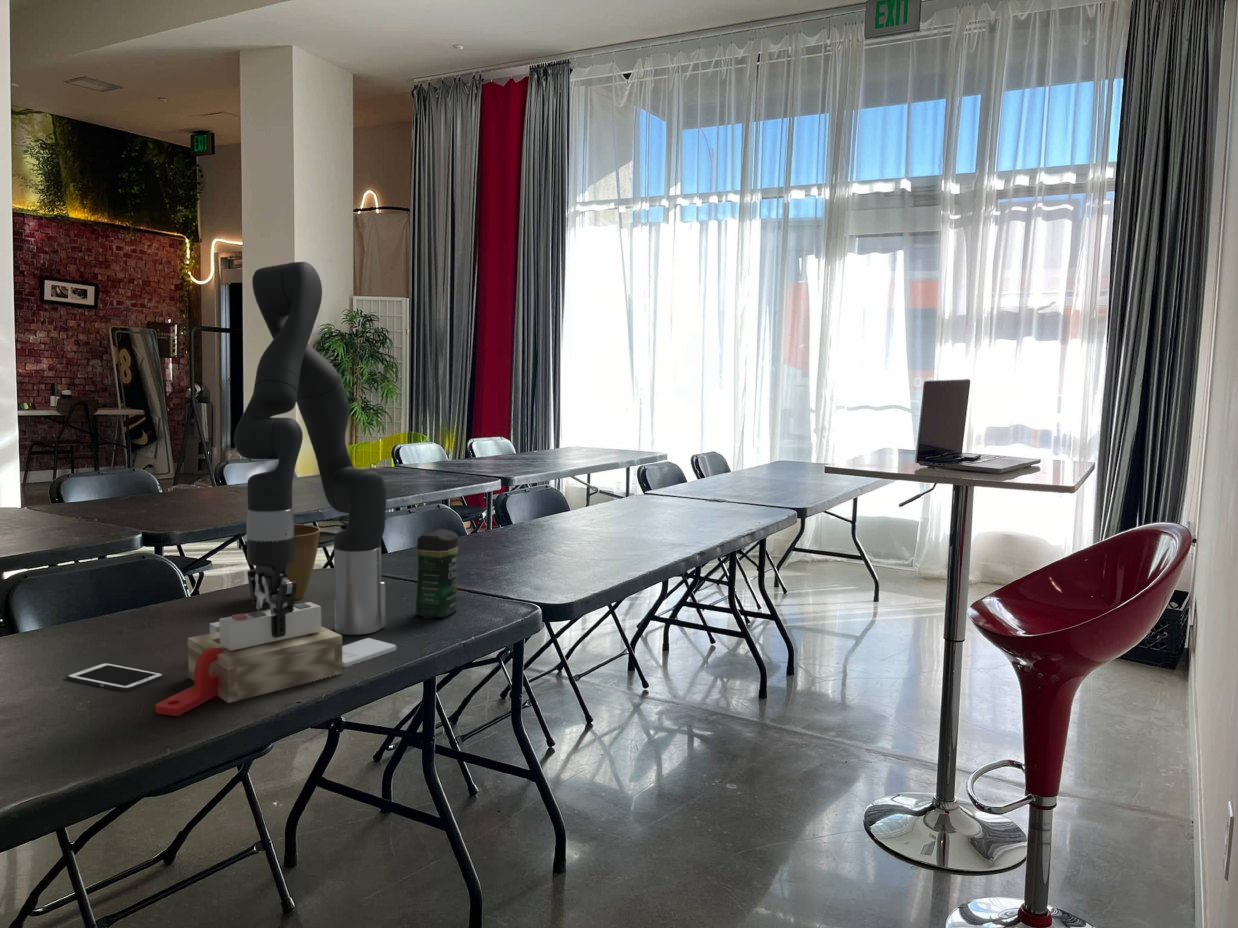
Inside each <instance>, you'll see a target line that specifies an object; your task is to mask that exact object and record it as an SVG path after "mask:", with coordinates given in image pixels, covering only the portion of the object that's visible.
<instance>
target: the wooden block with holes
mask: <svg viewBox="0 0 1238 928" xmlns="http://www.w3.org/2000/svg"><path fill="white" fill-rule="evenodd" d="M342 646H343V634H341V633H338V632H336V631H332V630H331V629H328V628H327V627H324V626H322V625H321V631H320V632H316V633H311V634H306V636H302V637H297V638H295V637H292V638H288V639H283V640H278V641H274V642H269V643H264V644H259V645H255V646H250V648H246V649H241V650H237V649H236V650H231V651H230V650H228V649H226V648H224V647H223V646H221V645H220V632H216V633H211V634H210V633H206V634H202V635H195V636H192V637H188V638H187V662H188V663H187V664H188V665H187V666H188V667H187V668H188V678H189V679H190V680H192V681H193V682H194V670H195V665H196V662H197V660H198V658H199V656H200V655H201V654H202V652H203V651H205V650H206V649H208V648H211V647H213V648H221V649H223V650H224V651H223V652H221V653H219V654H217V660H216V661H214V662H212V663H211V665H210V667H209V676H211V675H212V673H213V671H214V672H215V674H216V675H217V685H218V695H217V696H216V697H218V698H220V699H221V700H223V701H225V702H226V703H227V704H230V703H233V702H235V703H236V702H238V701H242V700H246V699H250V698H254V697H257V696H262V695H266V694H268V693H270V694H271V693H273V692H276V691H281V690H284V689H289V688H294V687H297V686H301V685H305V684H308V683H313V682H316V680H317V681H320V680H319V679H321V680H324V679H323V678H325V679H328V678H327V677H329V678H332V676H333V677H335V675H336V676H340V675H343V667H342ZM339 674H340V675H339ZM312 681H313V682H312Z"/></svg>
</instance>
